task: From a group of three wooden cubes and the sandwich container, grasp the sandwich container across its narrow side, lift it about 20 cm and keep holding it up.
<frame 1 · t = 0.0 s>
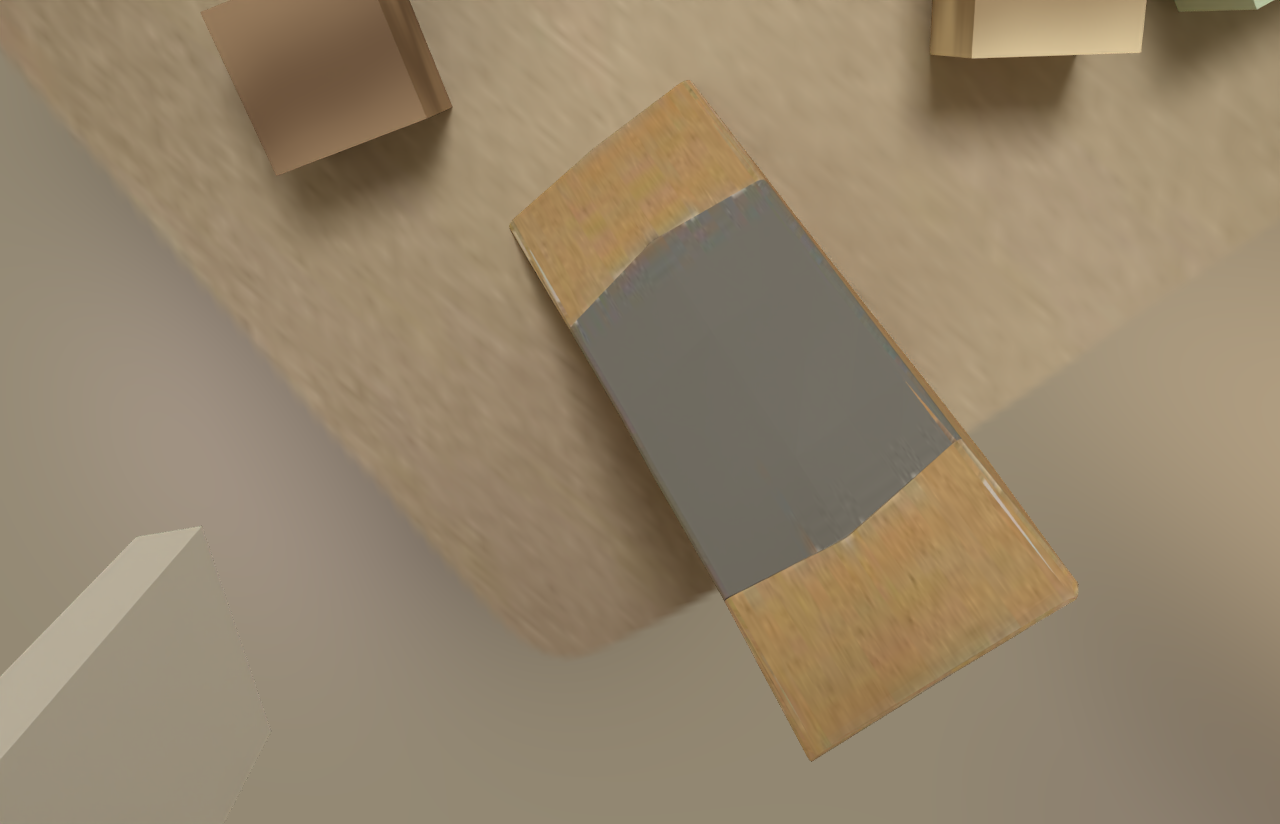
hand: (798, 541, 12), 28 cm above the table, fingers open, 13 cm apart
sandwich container: (723, 312, 41), on the table
walnut cube: (355, 61, 37), on the table
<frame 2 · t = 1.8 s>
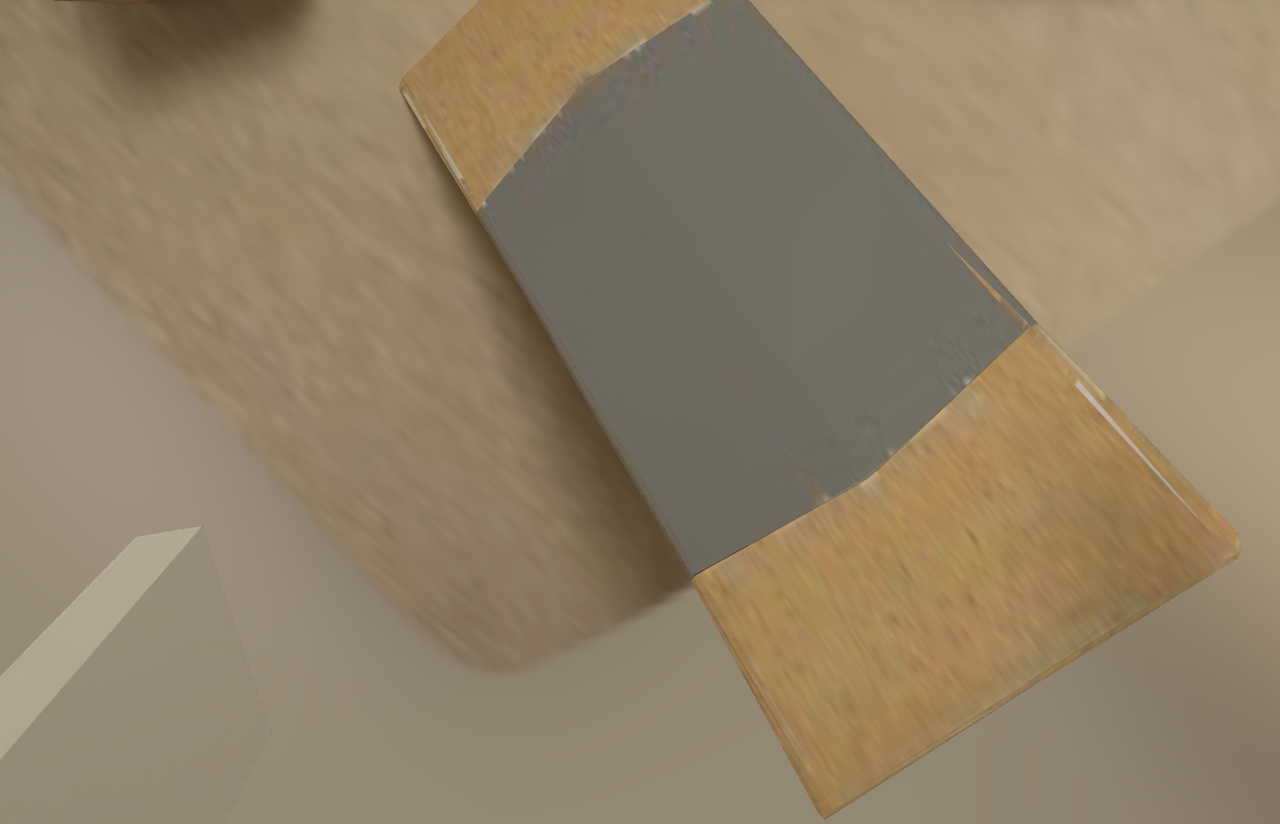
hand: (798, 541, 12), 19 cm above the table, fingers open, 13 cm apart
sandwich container: (693, 199, 30), on the table
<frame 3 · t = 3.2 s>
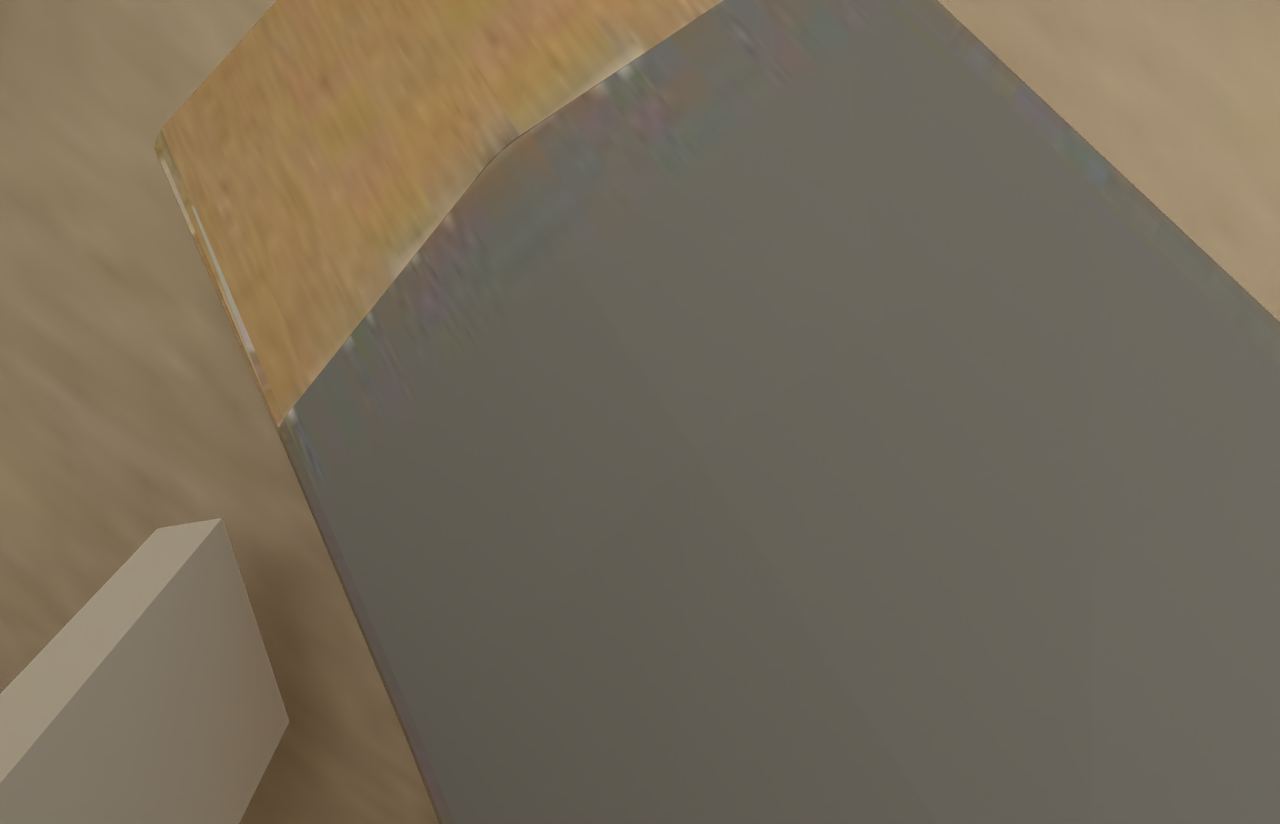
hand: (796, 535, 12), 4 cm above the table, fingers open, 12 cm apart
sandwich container: (738, 350, 16), on the table, touching gripper
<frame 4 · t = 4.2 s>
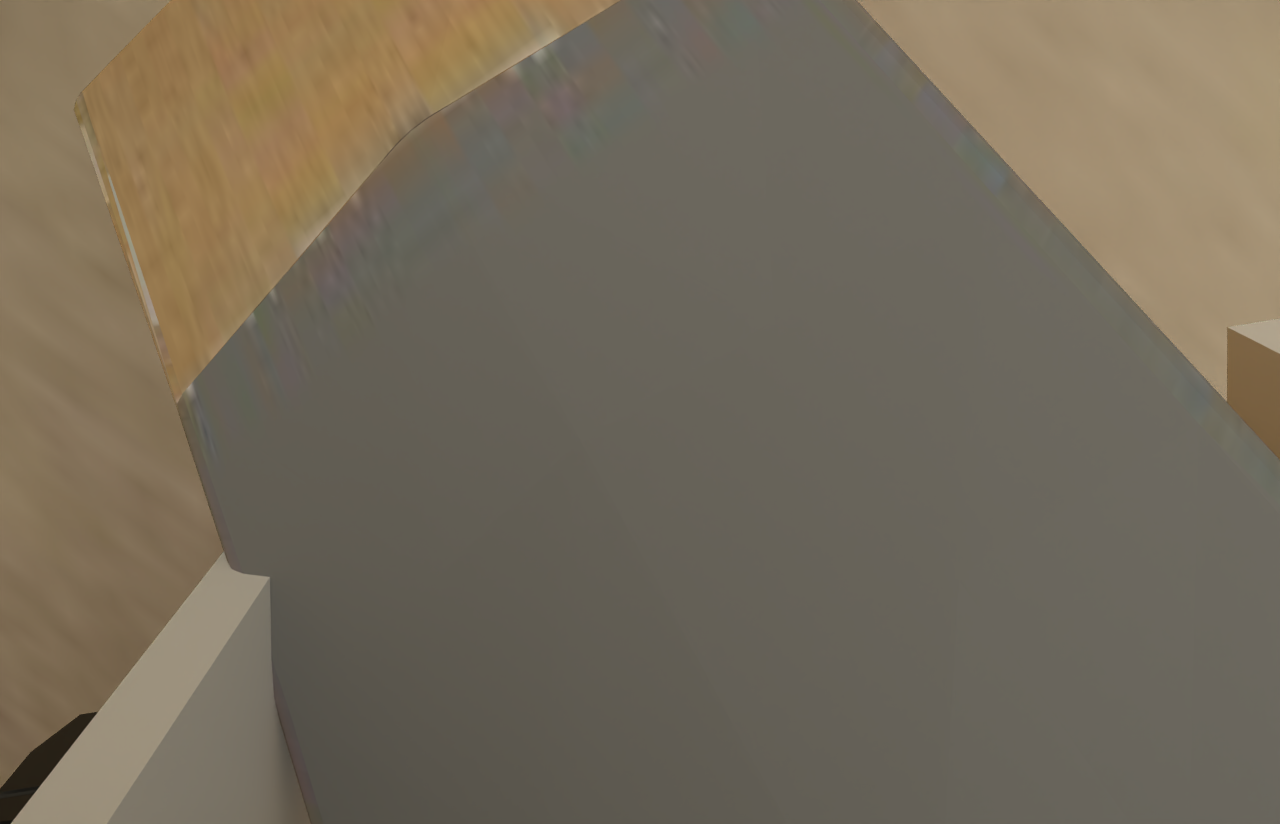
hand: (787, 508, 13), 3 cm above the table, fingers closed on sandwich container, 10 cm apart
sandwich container: (668, 348, 16), on the table, touching gripper
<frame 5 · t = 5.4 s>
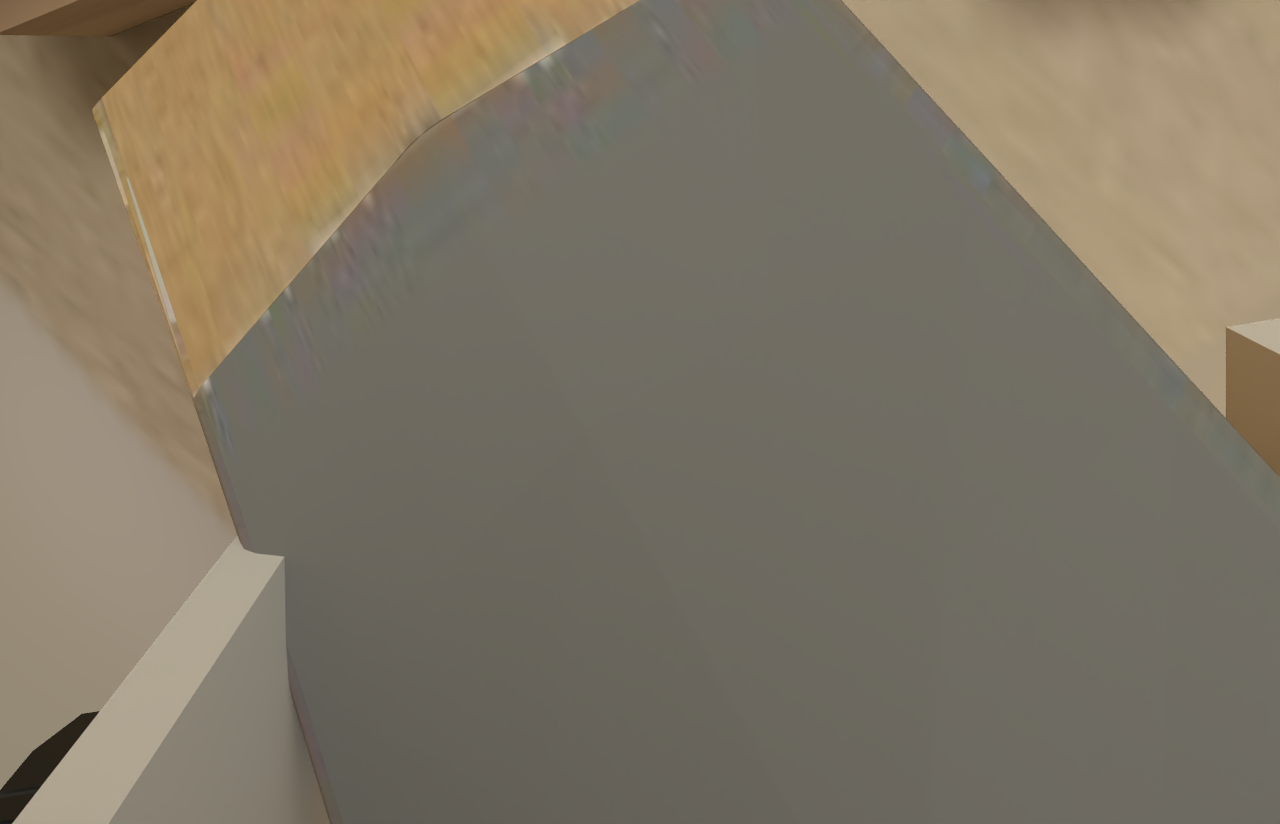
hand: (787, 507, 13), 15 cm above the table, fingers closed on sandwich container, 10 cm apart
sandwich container: (669, 349, 16), point 12 cm above the table, touching gripper
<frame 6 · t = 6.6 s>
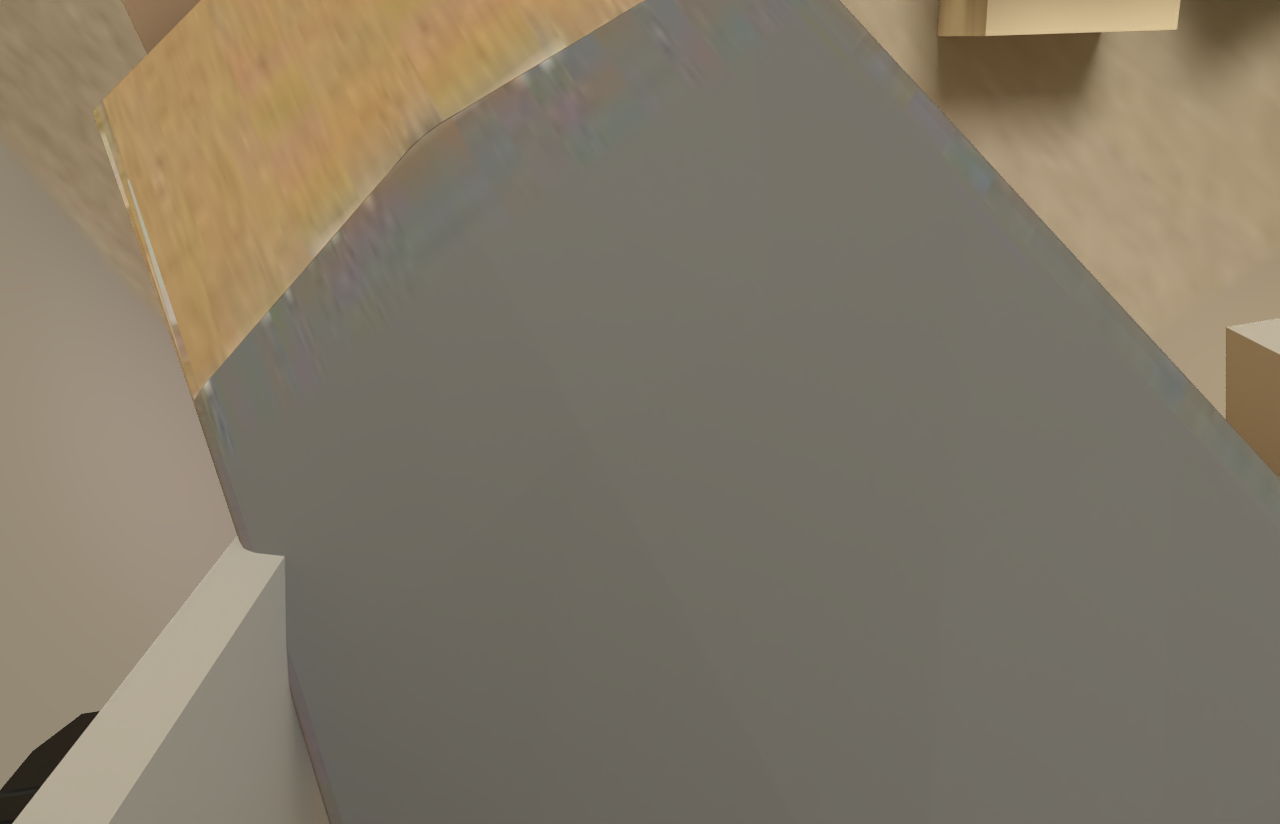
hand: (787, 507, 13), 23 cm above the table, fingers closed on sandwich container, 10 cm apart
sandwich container: (669, 351, 16), point 20 cm above the table, touching gripper
walnut cube: (299, 43, 34), on the table
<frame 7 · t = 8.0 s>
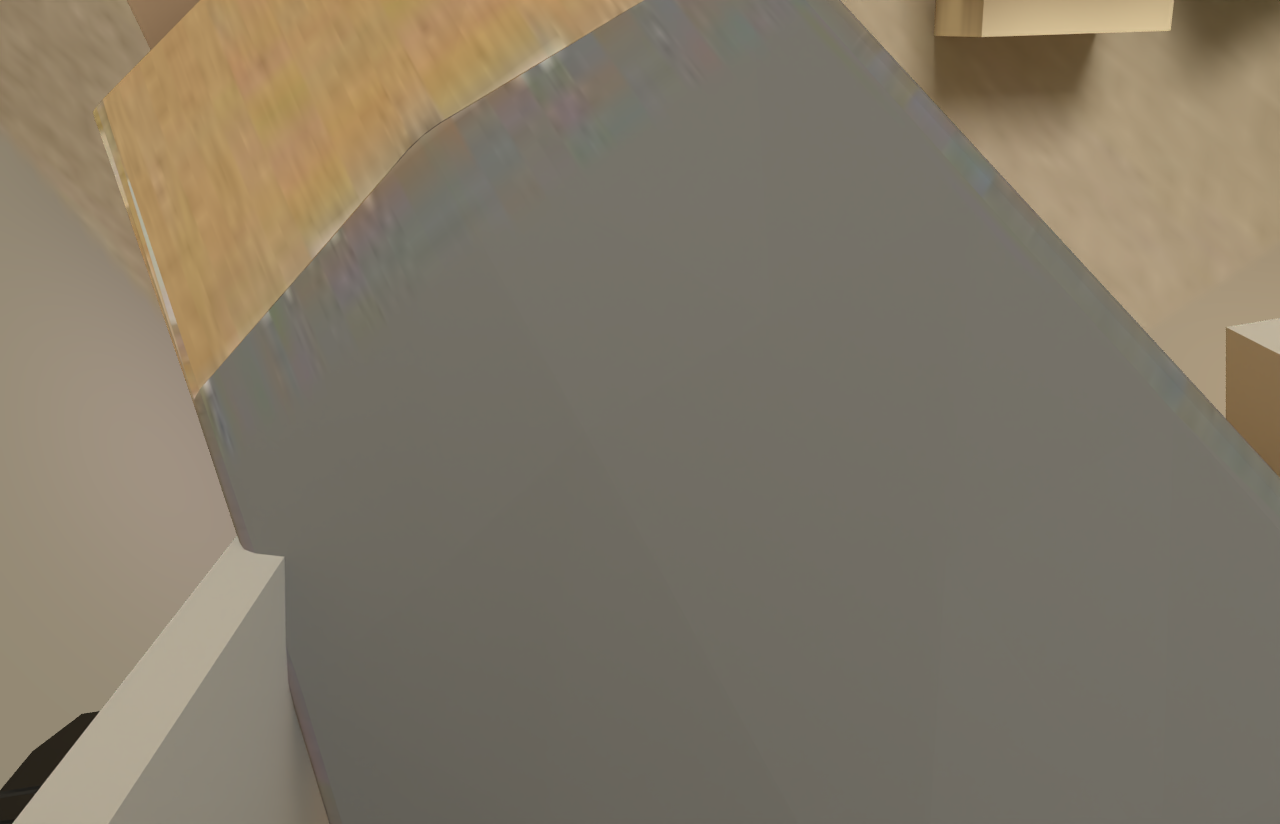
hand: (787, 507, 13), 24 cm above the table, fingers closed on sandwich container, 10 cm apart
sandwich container: (669, 351, 16), point 20 cm above the table, touching gripper
walnut cube: (302, 43, 34), on the table
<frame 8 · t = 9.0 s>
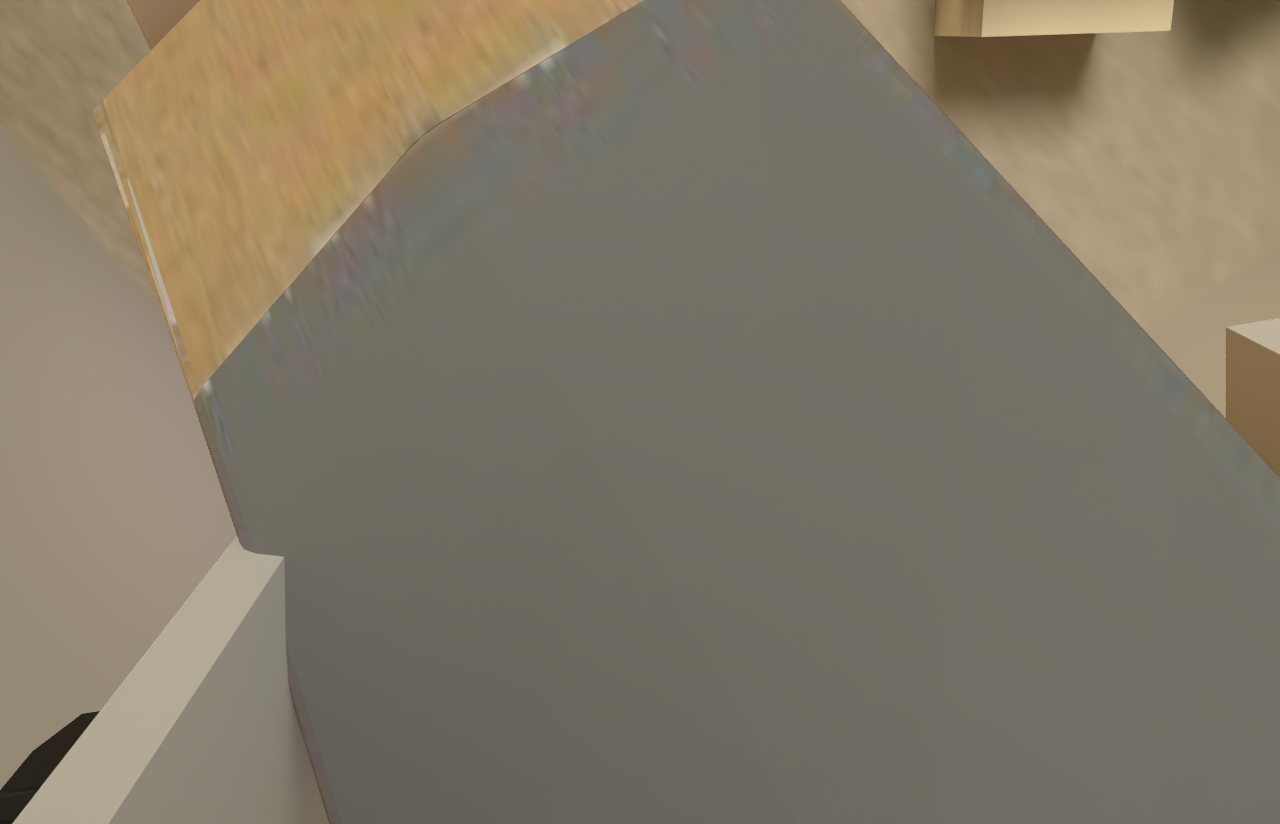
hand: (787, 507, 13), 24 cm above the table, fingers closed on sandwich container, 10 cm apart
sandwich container: (669, 351, 16), point 20 cm above the table, touching gripper
walnut cube: (302, 43, 34), on the table
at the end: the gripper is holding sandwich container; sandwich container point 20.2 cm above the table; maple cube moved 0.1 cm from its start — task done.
